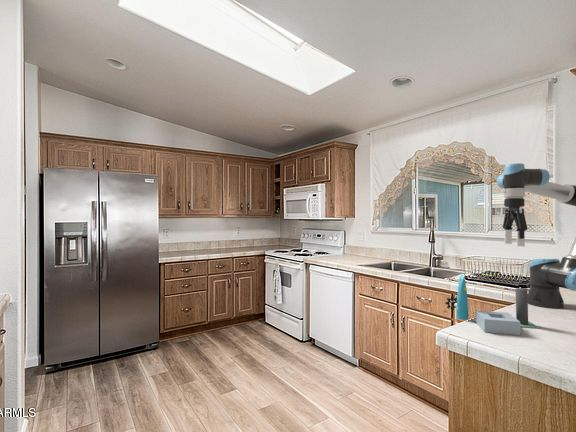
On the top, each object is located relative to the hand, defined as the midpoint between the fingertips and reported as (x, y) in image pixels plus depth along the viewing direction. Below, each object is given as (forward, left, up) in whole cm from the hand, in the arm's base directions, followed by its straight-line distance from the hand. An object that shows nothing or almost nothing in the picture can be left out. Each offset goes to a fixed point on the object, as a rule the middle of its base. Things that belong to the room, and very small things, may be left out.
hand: (514, 245), depth 146 cm
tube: (+24, +12, -32) cm, 42 cm away
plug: (+2, +14, -31) cm, 34 cm away
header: (+14, +22, -32) cm, 41 cm away
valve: (+24, +4, -32) cm, 40 cm away
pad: (+2, +14, -32) cm, 35 cm away
